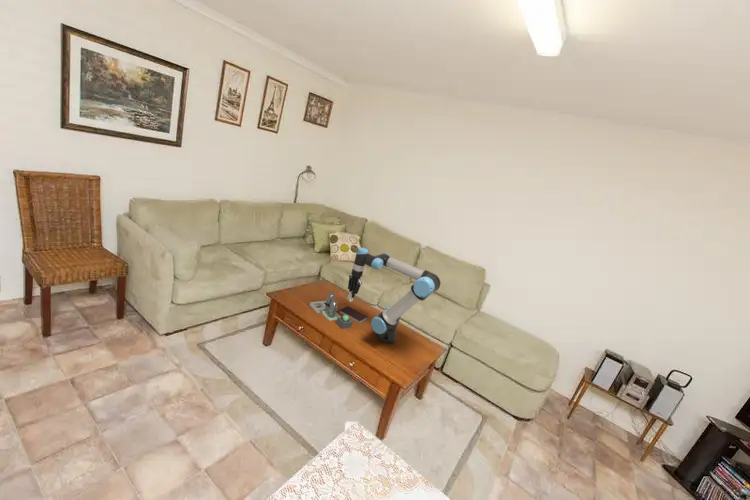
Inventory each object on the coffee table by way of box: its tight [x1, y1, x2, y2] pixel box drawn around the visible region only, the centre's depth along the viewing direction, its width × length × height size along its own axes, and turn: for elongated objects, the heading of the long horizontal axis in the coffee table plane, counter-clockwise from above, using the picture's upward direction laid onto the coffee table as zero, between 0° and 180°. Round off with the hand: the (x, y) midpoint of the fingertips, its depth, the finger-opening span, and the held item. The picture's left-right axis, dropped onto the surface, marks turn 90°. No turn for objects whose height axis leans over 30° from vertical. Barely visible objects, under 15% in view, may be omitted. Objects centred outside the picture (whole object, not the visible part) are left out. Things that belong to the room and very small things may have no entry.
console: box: [335, 316, 353, 330], centre depth 250 cm, size 8×8×5 cm
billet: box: [328, 299, 338, 318], centre depth 256 cm, size 5×5×12 cm
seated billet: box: [325, 292, 336, 307], centre depth 269 cm, size 5×5×12 cm
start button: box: [342, 314, 350, 322], centre depth 249 cm, size 4×4×5 cm
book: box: [339, 306, 369, 324], centre depth 268 cm, size 12×19×3 cm, turn 61°
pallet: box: [309, 300, 339, 314], centre depth 267 cm, size 12×18×3 cm, turn 128°
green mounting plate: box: [321, 310, 341, 322], centre depth 258 cm, size 11×10×2 cm
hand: (350, 300), depth 245 cm, fingers closed
